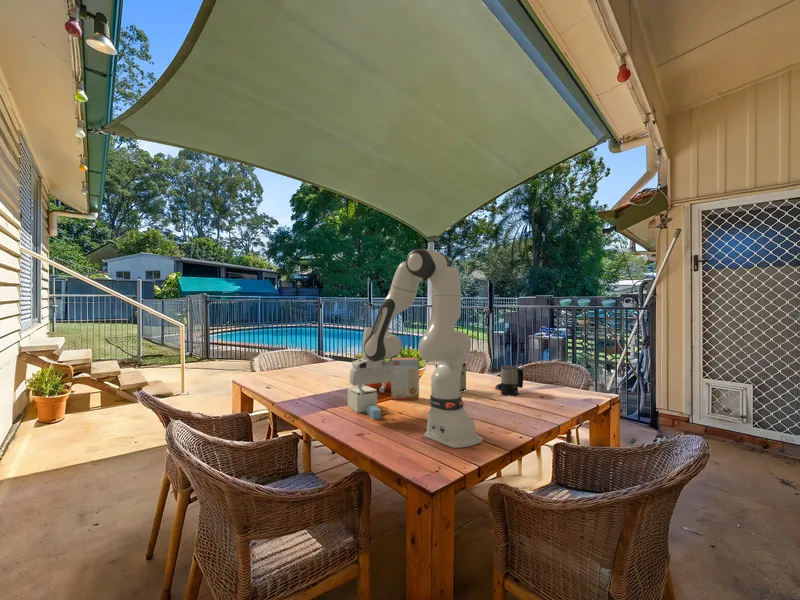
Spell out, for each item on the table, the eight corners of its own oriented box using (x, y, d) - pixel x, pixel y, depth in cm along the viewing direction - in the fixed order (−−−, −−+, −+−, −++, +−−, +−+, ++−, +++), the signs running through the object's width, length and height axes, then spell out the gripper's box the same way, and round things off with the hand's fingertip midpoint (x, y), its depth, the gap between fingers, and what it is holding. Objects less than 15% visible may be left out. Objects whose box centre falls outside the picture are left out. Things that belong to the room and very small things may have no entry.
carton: (377, 410, 175) (377, 392, 175) (357, 413, 170) (357, 395, 170) (366, 403, 186) (366, 387, 185) (347, 406, 181) (347, 389, 181)
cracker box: (419, 397, 197) (419, 357, 197) (418, 400, 191) (418, 359, 191) (392, 396, 198) (392, 357, 198) (391, 399, 192) (390, 358, 192)
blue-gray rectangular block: (380, 419, 163) (380, 409, 163) (373, 420, 162) (373, 410, 162) (373, 412, 172) (373, 403, 172) (366, 413, 171) (365, 404, 171)
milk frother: (513, 397, 197) (513, 368, 197) (486, 392, 208) (486, 365, 208) (525, 392, 207) (525, 365, 207) (499, 387, 218) (499, 361, 218)
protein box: (435, 393, 206) (435, 364, 206) (450, 387, 218) (450, 360, 218) (451, 396, 199) (451, 366, 199) (466, 390, 211) (466, 362, 211)
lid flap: (376, 391, 175) (376, 389, 175) (357, 393, 170) (357, 392, 170) (366, 386, 185) (366, 385, 185) (348, 389, 181) (348, 388, 181)
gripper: (390, 359, 175) (389, 389, 175) (348, 362, 165) (348, 394, 165) (396, 361, 169) (396, 392, 169) (353, 365, 159) (353, 397, 160)
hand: (372, 393), depth 167 cm, fingers open, 8 cm apart
